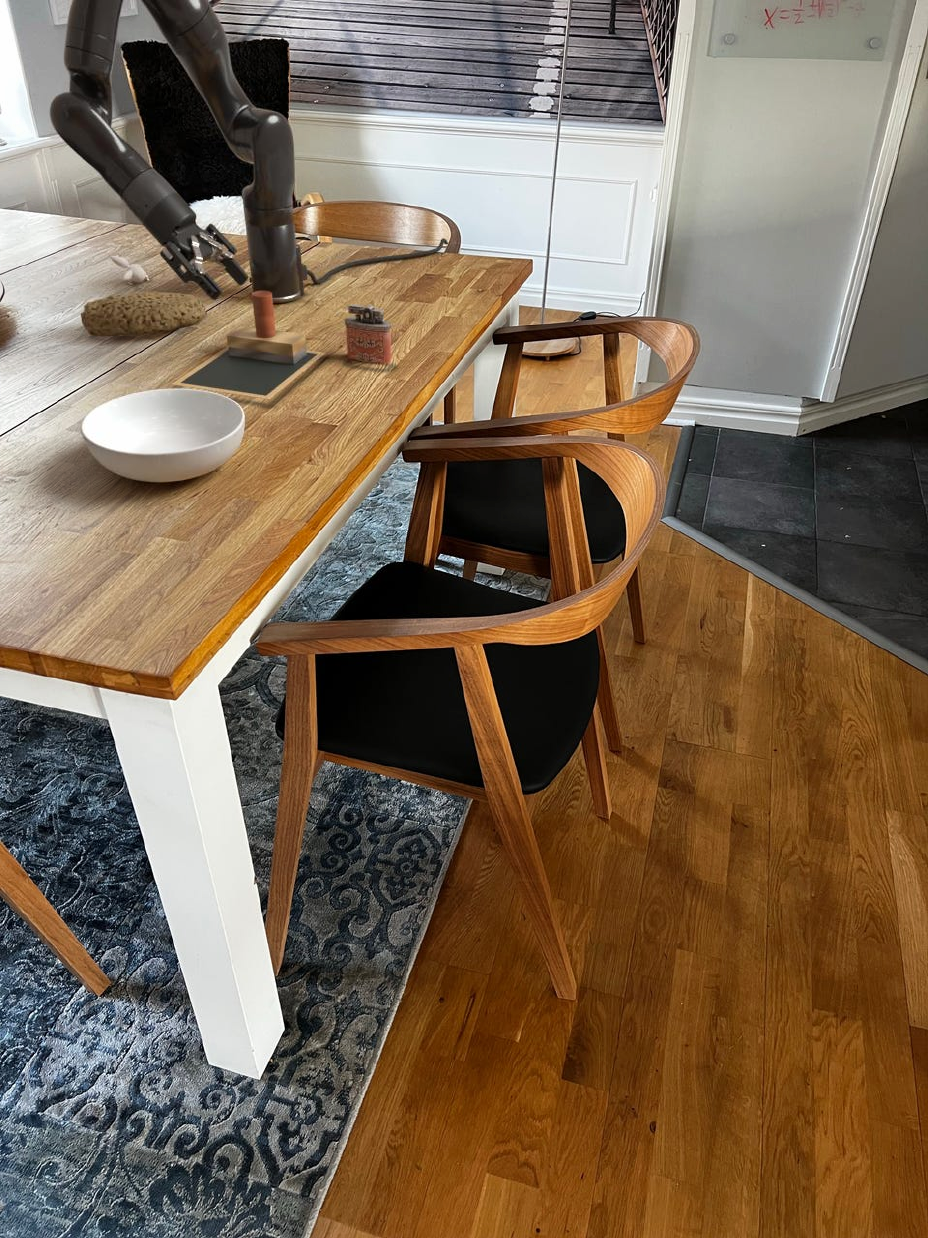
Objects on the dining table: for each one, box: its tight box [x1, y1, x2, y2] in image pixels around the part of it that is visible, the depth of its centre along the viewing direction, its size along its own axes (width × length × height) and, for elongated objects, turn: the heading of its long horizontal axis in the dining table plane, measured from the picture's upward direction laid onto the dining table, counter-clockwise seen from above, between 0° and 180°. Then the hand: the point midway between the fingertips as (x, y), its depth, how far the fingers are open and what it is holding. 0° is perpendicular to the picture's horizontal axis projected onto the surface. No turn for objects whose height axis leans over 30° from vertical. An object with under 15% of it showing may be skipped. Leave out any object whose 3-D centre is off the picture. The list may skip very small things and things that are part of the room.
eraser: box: [226, 291, 308, 365], centre depth 157 cm, size 12×5×10 cm, turn 72°
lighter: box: [344, 303, 393, 372], centre depth 157 cm, size 8×3×10 cm, turn 71°
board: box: [171, 345, 326, 400], centre depth 156 cm, size 21×17×1 cm
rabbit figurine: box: [110, 255, 150, 286], centre depth 193 cm, size 6×4×8 cm
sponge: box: [80, 291, 208, 337], centre depth 170 cm, size 13×8×20 cm
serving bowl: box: [80, 388, 246, 483], centre depth 127 cm, size 21×21×7 cm
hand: (232, 288), depth 155 cm, fingers open, 8 cm apart
